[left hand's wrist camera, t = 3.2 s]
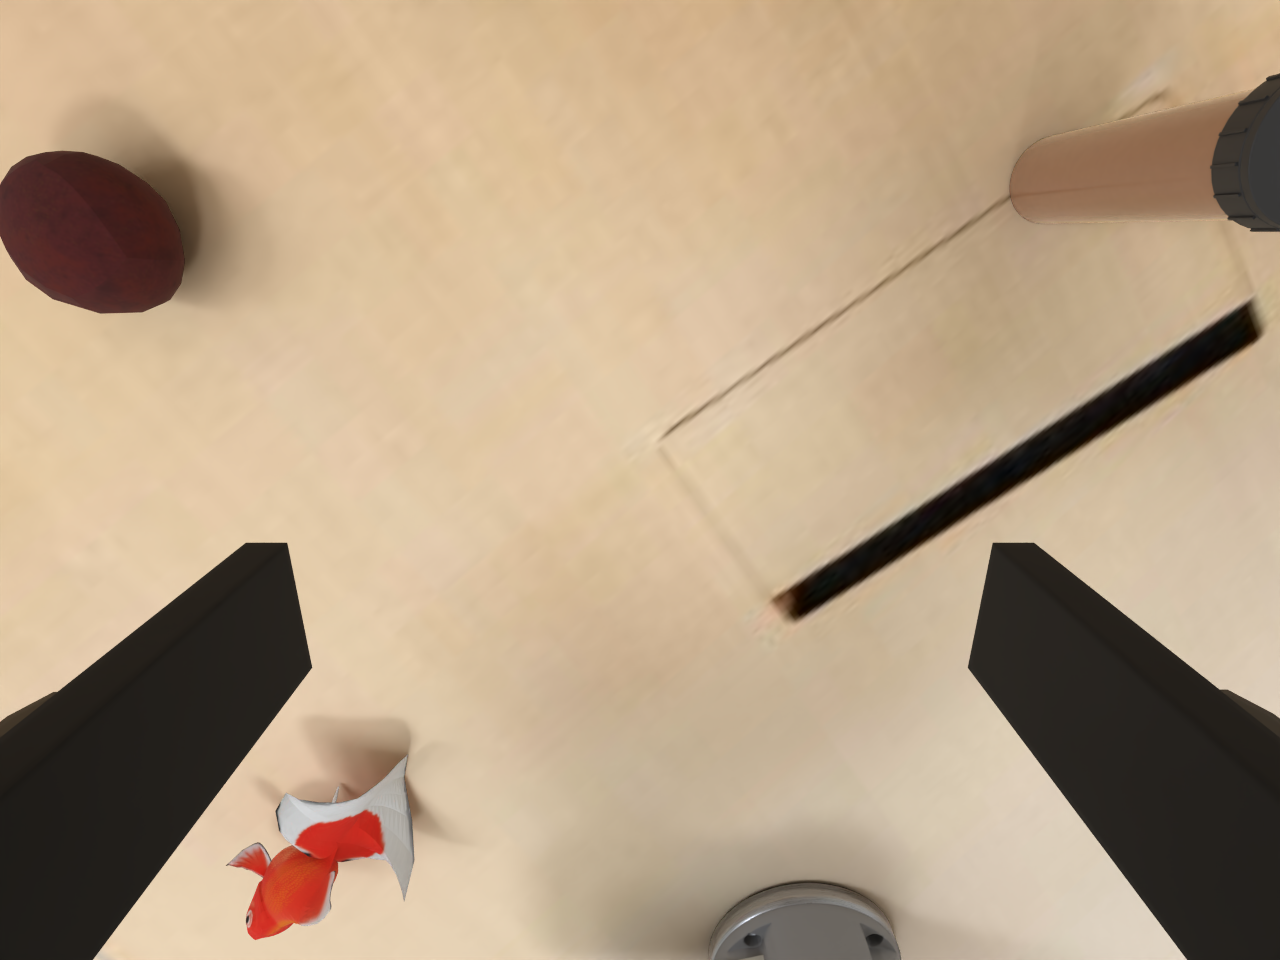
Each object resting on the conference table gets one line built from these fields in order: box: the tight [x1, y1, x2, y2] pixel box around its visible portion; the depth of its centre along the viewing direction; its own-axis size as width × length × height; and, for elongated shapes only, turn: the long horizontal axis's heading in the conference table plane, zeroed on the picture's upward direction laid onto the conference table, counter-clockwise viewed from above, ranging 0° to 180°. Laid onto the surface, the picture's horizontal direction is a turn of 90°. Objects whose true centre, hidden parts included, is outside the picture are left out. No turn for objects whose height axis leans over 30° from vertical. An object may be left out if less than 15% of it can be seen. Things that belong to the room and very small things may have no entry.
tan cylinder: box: [1010, 89, 1255, 224], centre depth 29 cm, size 4×4×15 cm
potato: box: [0, 151, 185, 313], centre depth 33 cm, size 7×8×7 cm
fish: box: [226, 754, 414, 940], centre depth 47 cm, size 11×16×10 cm
